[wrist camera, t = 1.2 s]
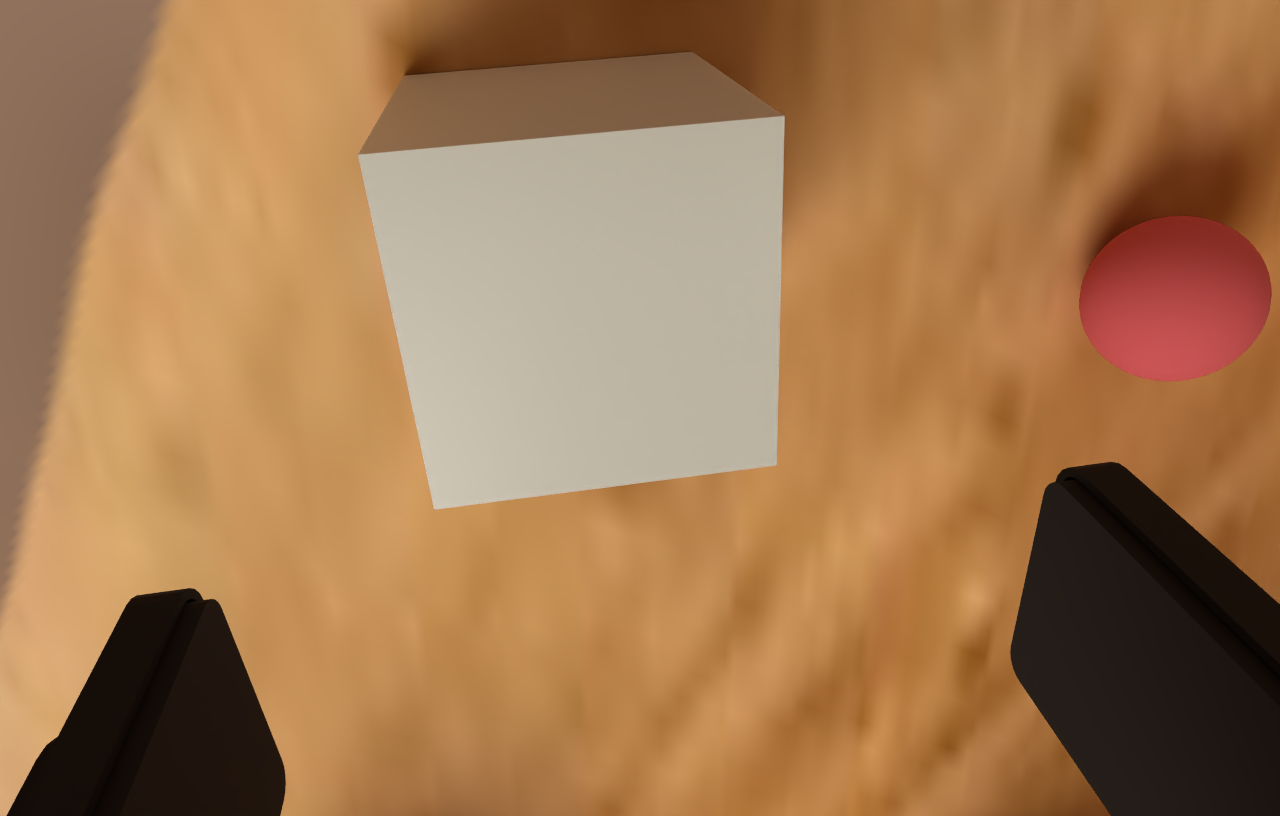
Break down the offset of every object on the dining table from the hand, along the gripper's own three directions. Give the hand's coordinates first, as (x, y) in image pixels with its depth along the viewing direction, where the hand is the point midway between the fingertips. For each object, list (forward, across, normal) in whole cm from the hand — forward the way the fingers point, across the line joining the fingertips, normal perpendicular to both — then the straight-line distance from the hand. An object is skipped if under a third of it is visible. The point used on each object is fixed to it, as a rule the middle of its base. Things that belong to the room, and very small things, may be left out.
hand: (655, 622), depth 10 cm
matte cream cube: (+18, 0, 0) cm, 18 cm away
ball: (+15, -18, +4) cm, 24 cm away
